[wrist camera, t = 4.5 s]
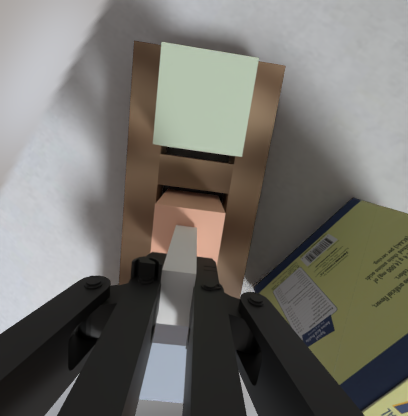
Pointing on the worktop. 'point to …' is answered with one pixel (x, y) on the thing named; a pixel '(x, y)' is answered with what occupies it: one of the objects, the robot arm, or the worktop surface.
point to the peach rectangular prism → (189, 221)
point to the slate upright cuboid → (166, 365)
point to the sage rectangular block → (203, 99)
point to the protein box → (352, 302)
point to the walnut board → (195, 170)
